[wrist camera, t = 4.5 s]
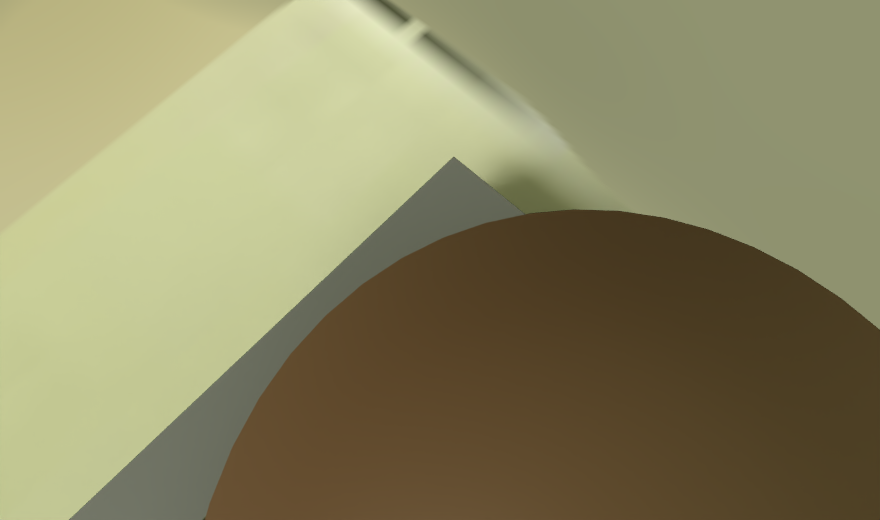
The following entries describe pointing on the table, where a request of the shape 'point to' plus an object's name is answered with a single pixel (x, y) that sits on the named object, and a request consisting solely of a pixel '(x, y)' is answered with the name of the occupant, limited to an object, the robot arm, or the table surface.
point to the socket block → (281, 358)
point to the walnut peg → (571, 386)
